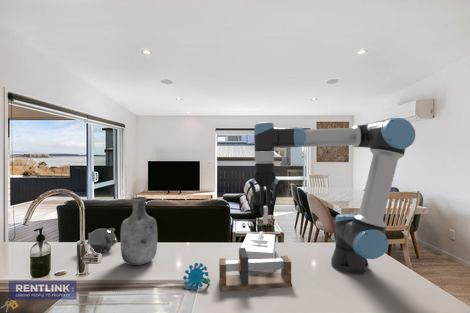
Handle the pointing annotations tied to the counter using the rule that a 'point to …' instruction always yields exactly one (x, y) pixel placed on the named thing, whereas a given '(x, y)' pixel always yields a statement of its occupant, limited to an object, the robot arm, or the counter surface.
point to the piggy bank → (102, 239)
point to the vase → (138, 235)
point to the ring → (243, 265)
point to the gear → (196, 276)
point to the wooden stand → (255, 278)
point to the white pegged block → (260, 247)
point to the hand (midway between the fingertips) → (265, 223)
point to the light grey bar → (256, 264)
